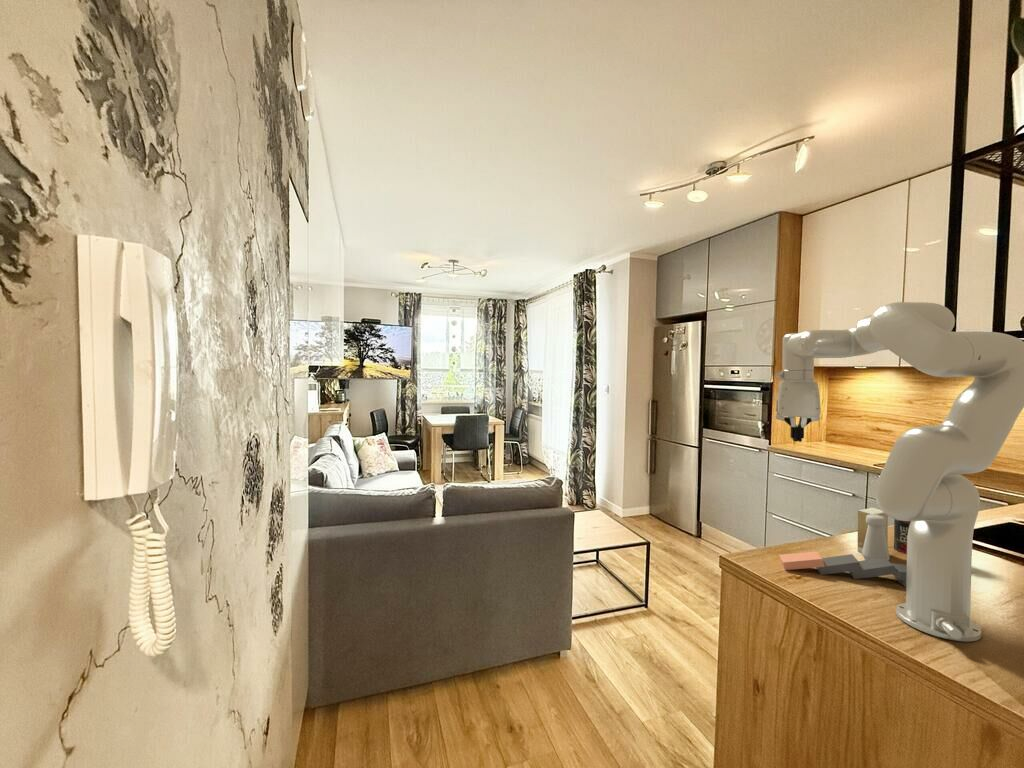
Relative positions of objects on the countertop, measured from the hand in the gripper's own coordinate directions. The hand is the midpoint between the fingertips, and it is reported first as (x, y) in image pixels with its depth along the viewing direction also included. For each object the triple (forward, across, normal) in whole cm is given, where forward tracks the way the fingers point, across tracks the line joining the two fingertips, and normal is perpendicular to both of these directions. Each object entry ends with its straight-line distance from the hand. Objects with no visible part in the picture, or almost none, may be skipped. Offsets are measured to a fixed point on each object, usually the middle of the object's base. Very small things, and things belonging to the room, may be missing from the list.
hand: (797, 440), depth 126 cm
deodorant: (+32, +30, +11) cm, 45 cm away
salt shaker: (+32, +18, -2) cm, 37 cm away
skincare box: (+32, +20, +6) cm, 38 cm away
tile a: (+31, +2, -12) cm, 33 cm away
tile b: (+31, +9, -12) cm, 35 cm away
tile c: (+30, +18, -12) cm, 37 cm away
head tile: (+31, -6, -12) cm, 34 cm away
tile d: (+32, +19, -12) cm, 39 cm away
